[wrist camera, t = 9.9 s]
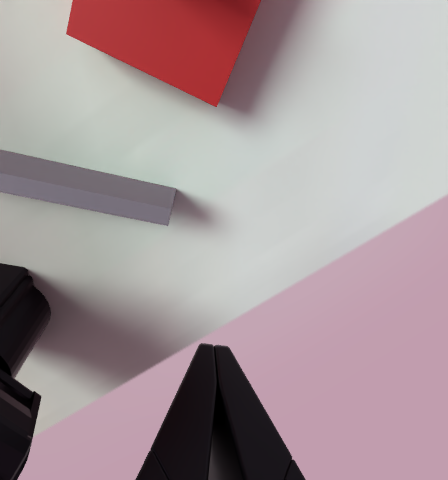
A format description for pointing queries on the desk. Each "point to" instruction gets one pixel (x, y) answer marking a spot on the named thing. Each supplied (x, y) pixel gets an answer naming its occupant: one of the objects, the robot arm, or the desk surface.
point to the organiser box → (85, 188)
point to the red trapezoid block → (169, 38)
